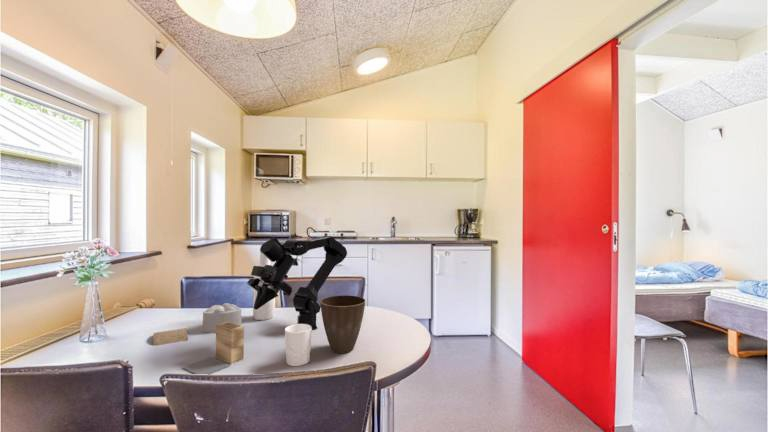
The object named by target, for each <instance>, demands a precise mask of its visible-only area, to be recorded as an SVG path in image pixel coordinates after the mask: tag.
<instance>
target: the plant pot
mask: <svg viewBox="0 0 768 432" xmlns="http://www.w3.org/2000/svg"><path fill="white" fill-rule="evenodd" d="M319 305H320V306H321V308H320V312H321V316H322V317H321V318H322V322H323V328H324V331H325V335H326V338H327V341H328V345H329V348H330V350H331V351H332V352H334V353H336V354H345V353H349V352H352V351H353V350H354V349H355V346H356V343H357V340H358V338H359V335H360V331H361V328H362V327H361V326H362V323H363V319H364V318H363V317H364V313H365V307H366V299H365V298H364V297H361V296H359V295H358V296H357V295H349V294H346V295H345V294H344V295H341V294H340V295H331V296H326V297H324V298H322V299H320V304H319Z"/></svg>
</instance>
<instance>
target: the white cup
mask: <svg viewBox="0 0 768 432" xmlns="http://www.w3.org/2000/svg"><path fill="white" fill-rule="evenodd" d="M312 330H313V329H312V326H310V325H308V324H297V323H296V324H294V323H293V324H291V325H288V326H287V327H285V328H284V343H285V344H284V345H285V357H286V364H287V365H288V366H292V367H299V366H304V365H306V364H308V363H309V362H310V361H311V360H310V356H311V355H310V354H311V348H312V347H311V346H312Z"/></svg>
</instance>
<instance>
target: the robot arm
mask: <svg viewBox="0 0 768 432" xmlns="http://www.w3.org/2000/svg"><path fill="white" fill-rule="evenodd" d="M284 242H285V243H281V241H279V240H278V238H277V237H271V238H270V239H268V240H267V241H265V242H264V243H263V244H262V245H261V246H260V248H259V250H260V251H261V252H262V253H263V254H264V255H265V256H266V257H267V258H268V259H269V260H270V262H271V263H273V262H274V264H273V265H271V264H270V265H265V266H264V267H261V266H259V265H253V266H252V270H251V273H250V276H253V277H252V278H249V279H248V281H247V283H246V284H247V285H248V286H250V287H251V288H252V289H253V290H254V289H255V290H256V291H257V297H256V300H255V304H254V309H256V310H257V309H259V308H260V307H261V306H263V305H264V304H266V303H267V302H269V301H270V300H272V299H273V298H275V299H276V298H277V297H279V294H278V293H279V292H283V293H282V295H283V296H286V297H290V296H291V294H292V293H293V288H292V286H290V285H289V284H288V283H287V282H286V281H285V280H287V279H288V277H289V276H288V273H289V271H290V269H291V268H292V266H294V267H295V266H296V267H297V266H299V262H298V258H297V257H300V256H303V255H305V254H306V253H308V252H309V251H312V250H316V249H320V248H323V250H324V251H325V256H324V257H325V258H324V261H323V262H322V264H321V265H320V267H319V269H318V270H317V271H316V272H315V274H314V275H313V276H312V278H311V280H310V282H309V283H308V284H307V286H305V287H304V286H299V288H298V289H297V291H296V292H295V293H294V297H293V299H292V303H293V304H292V305H293V306H294V309H295V312H298V315H297V318H296V319H297V323H296V324H308V325H310V326H312V330H317V329H318V326H317V314H318V313H320V312H321V304H319V303H318V299H319V298H318V297H319V296H318V295H319V294H318V293H319V291H320V290H321V288H322V286H323V285H324V283H325V282H326V280H327V279H328V277H329V276H330V274H331V272H333V270H334V268H335V267H336V266H337V265H339V264H340V263H343V261H344V260H345V259H346V257H347V255H348V251H347V249H346V247H345V246H344V245H343V243H341V242H339V241H338V240H337V239H335V237H334V236H331V235H330V236H328V235H323V236H320V237H315V238H310V239H304V240H300V239H287V240H286V241H284ZM260 251H259V252H260ZM293 256H297V257H296V258H295V257H293ZM254 275H255V276H258V277H261V278H260V279H261V280H263V281H264V282H263V281H261V280H260V279H259V278H254Z"/></svg>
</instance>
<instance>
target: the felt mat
mask: <svg viewBox="0 0 768 432" xmlns="http://www.w3.org/2000/svg"><path fill="white" fill-rule="evenodd" d="M228 366H229V367H231V364H229V363H227V362H224V361H222V360H220V359H217V358H213V357H211V356H209V357H207V358H204V359H202V360H201V359H200V360H199V361H196V362H193V363H190V364H188V365H184V366H183V367H182V369H183V370H185V371H188V372H190V373H191V374H194V375H195V374H210V375H211V373H212V374H214V373H213V372H215V373H216V371H217V372H220V371H222V370H223V368H224V369H227V368H229V367H228ZM226 367H227V368H226ZM221 369H222V370H221Z"/></svg>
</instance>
